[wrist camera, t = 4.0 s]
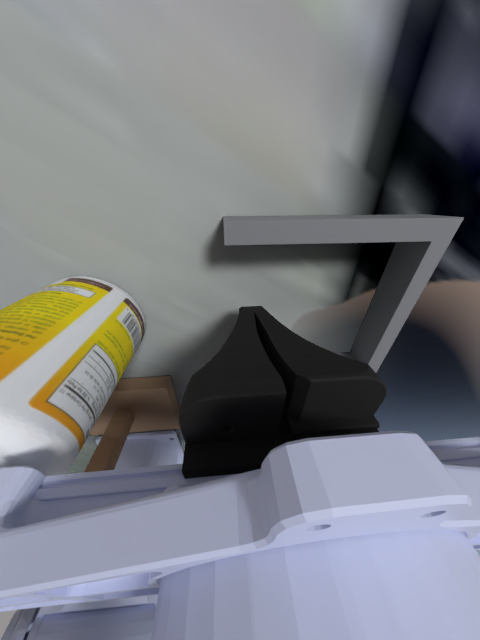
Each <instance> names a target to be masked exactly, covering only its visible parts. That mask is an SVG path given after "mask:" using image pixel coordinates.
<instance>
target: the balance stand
mask: <svg viewBox="0 0 480 640" xmlns="http://www.w3.org/2000/svg"><path fill="white" fill-rule="evenodd" d="M179 414H180V408H179V404H178V401H177V398H176V394H175V391H174V388H173V385H172V381H171V378H170V376H156V377H140V378H124V379H120V380H119V382H118V383H117V385H116V387H115V389H114V391H113V392H112V394H111V396H110V398H109V399H108V401H107V403H106V405H105V407H104V409H103V410H102V412H101V414H100V416H99V418H98V419H97V421H96V423H95V425H94V427H93V428H92V430H91V432H90V435H91V436H95V435H103V436H102V438H101V440H100V442H99V444H98V446H97V448H96V450H95V452H94V454H93V456H92V458H91V460H90V462H89V464H88V466H87V468H86V470H85V472H95V471H106V470H114V469H115V466H116V464H117V461H118V459H119V456H120V454H121V451H122V449H123V446H124V444H125V441H126V439H127V436H128V434H129V433H132V432H145V431H158V430H170V429H180V425H179Z"/></svg>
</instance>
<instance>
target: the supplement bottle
mask: <svg viewBox="0 0 480 640" xmlns="http://www.w3.org/2000/svg"><path fill="white" fill-rule="evenodd" d="M144 332H145V319H144V315H143V313H142V311H141V309H140V307H139V306H138V304H137V303H136V302H135V301H134V299H133V298H132V297H131V296H130V295H128V294H127V293H126V292H125V291H123V290H122V289H120V288H119V287H117V286H115V285H113V284H111V283H109V282H106V281H104V280H100V279H97V278H92V277H84V276H77V277H69V278H64V279H61V280H59V281H56V282H54V283H52V284H50V285H48V286H46V287H44V288H43V289H41V290H39V291H37V292H35V293H33V294H31V295H29V296H27V297H25V298H23V299H21V300H19V301H17V302H15V303H13V304H11V305H9V306H7V307H5V308H3V309H1V310H0V468H2V467H13V466H31V467H35V468H38V469H40V470H41V471H42V472H43V473H44V474H45V476H51V475H62V474H64V473H65V472H66V471H67V470H68V469H69V468H70V466H71V465H72V463H73V462H74V460H75V458H76V457H77V455H78V453H79V452H80V450H81V448H82V446H83V445H84V443H85V441H86V439H87V437H88V436H89V434H90V432H91V430H92V428H93V427H94V425H95V423H96V421H97V419H98V418H99V416H100V414H101V412H102V410H103V409H104V407H105V405H106V403H107V401H108V399H109V398H110V396H111V394H112V392H113V391H114V389H115V387H116V385H117V383H118V382H119V380H120V378H121V376H122V374H123V373H124V371H125V369H126V367H127V365H128V364H129V362H130V360H131V358H132V356H133V355H134V353H135V351H136V349H137V348H138V346H139V344H140V342H141V340H142V338H143V336H144Z"/></svg>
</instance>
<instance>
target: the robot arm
mask: <svg viewBox="0 0 480 640" xmlns="http://www.w3.org/2000/svg"><path fill="white" fill-rule="evenodd" d="M386 390H387V387H386V385H385V383H384V382H383V380H382V379H381V378H380V377H379V376H378V375H377V374H376V372H375V371H374V370H373V369H372V368H371V367H370V366H369V365H368V364H367V363H364V362H360V361H357V360H354V359H351V358H348V357H344V356H342V355H339V354H336V353H333V352H331V351H329V350H326V349H324V348H321V347H319V346H317V345H315V344H313V343H311V342H309V341H307V340H305V339H304V338H302V337H300V336H298V335H297V334H295V333H294V332H292V331H291V330H289V329H288V328H287V327H285V326H284V325H282V324H281V323H280V322H279V321H277V320H276V319H275V318H274V317H273V316H272V315H271V314H269V313H268V312H267V311H266V310H265V309H264V308H263V307H262V306H251V307H241V308H239V317H238V320H237V323H236V325H235V327H234V329H233V331H232V333H231V335H230V337H229V338H228V340H227V341H226V343H225V344H224V346H223V347H222V348H221V349H220V351H219V352H218V353H217V354H216V355H215V356H214V357H213V358H212V359H211V360H210V361H209V362H208V363H207V364H206V365H205V366H204V367H203V368H201V369H200V370H199V371H198V372H196V373H195V374H194V375H193V376H192V377H191V379H190V382H189V384H188V386H187V389H186V391H185V394H184V397H183V400H182V404H181V409H180V414H179V425H180V428H181V431H182V434H183V437H184V440H185V443H186V444H185V451H184V453H183V450H182V447H181V444H180V442H179V439H178V436H177V434H176V432H175V431H173V430H169V431H157V432H144V433H132V434H128V436H127V439H126V441H125V444H124V446H123V449H122V451H121V454H120V456H119V459H118V461H117V464H116V466H115V469H114V470H106V471H95V472H84V473H73V474H62V475H51V476H45V474H44V473H43V472H42V471H41V470H40V469H38V468H35V467H31V466H13V467H2V468H0V612H3V611H12V610H17V611H16V612H15V613H14V615H13V617H12V619H11V621H10V623H9V625H8V627H7V629H6V631H5V632H4V634H3V637H2V638H1V640H480V556H479V554H478V553H477V552H476V550H480V437H470V438H459V439H449V440H448V439H447V440H437V441H426V442H424V441H423V440H422V439H421V438H420V437H419V436H418V435H417V434H415V433H412V432H405V431H385V432H379V431H378V430H377V428H379V423H378V421H377V420H376V418H375V417H374V414H375V412H376V411H377V409H378V408H379V406H380V405H381V403H382V402H383V400H384V398H385V396H386V392H387V391H386ZM101 438H102V436H99V437H97V439H96V440H95V442H96V444H97V445H98V444H99V442H100V440H101Z"/></svg>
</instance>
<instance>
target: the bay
mask: <svg viewBox="0 0 480 640" xmlns="http://www.w3.org/2000/svg"><path fill="white" fill-rule="evenodd" d="M463 219H464V218H463V217H451V216H438V215H426V214H418V215H322V216H226V217H223V224H224V245H271V244H321V243H371V242H396V244H395V246H394V248H393V251H392V253H391V255H390V258H389V260H388V263H387V265H386V267H385V270H384V272H383V275H382V277H381V279H380V282H379V284H378V286H377V289H376V291H375V294H374V296H373V298H372V301H371V303H370V305H369V308H368V310H367V313H366V315H365V317H364V320H363V322H362V324H361V327H360V329H359V332H358V334H357V336H356V339H355V341H354V344H353V346H352V348H351V351H350V352H341V353H336V354H339V355H342V356H344V357H348V358H351V359H354V360H357V361H360V362H364V363H367V364H368V365H369V366H370V367H371V368H372V369H373V370H374V371H375V372H377V370H378V369H379V367H380V365H381V363H382V362H383V360H384V358H385V356H386V355H387V353H388V351H389V349H390V347H391V346H392V344H393V342H394V340H395V339H396V337H397V335H398V333H399V332H400V330H401V328H402V326H403V325H404V323H405V321H406V319H407V317H408V316H409V314H410V312H411V310H412V309H413V307H414V305H415V303H416V302H417V300H418V298H419V296H420V295H421V292H422V291H423V289H424V288H425V286H426V284H427V282H428V280H429V279H430V277H431V275H432V273H433V272H434V270H435V268H436V266H437V265H438V263H439V261H440V259H441V258H442V256H443V254H444V252H445V250H446V249H447V247H448V245H449V243H450V242H451V240H452V238H453V236H454V235H455V233H456V231H457V229H458V228H459V226H460V224H461V222H462V221H463Z"/></svg>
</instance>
